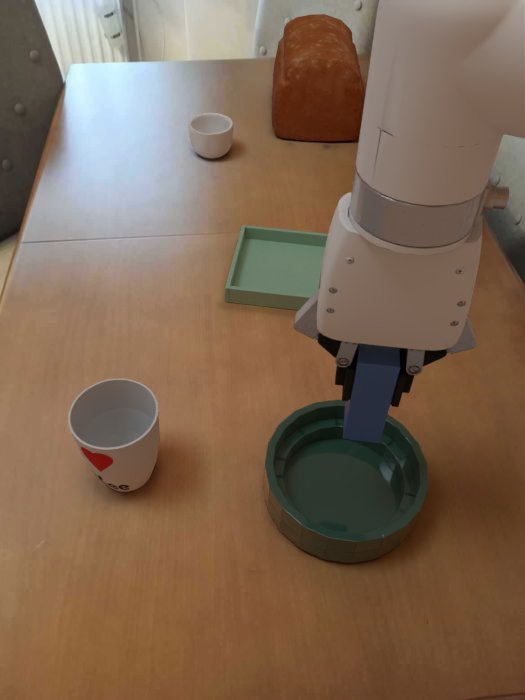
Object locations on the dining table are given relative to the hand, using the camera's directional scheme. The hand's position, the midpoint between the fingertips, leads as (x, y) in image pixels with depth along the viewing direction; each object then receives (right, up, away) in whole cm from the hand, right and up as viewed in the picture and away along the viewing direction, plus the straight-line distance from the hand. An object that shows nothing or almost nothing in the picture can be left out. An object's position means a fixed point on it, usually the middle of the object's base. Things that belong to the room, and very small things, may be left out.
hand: (370, 389), depth 49 cm
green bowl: (-1, -11, +12) cm, 17 cm away
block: (0, -4, +4) cm, 5 cm away
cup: (-23, -9, +13) cm, 28 cm away
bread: (+1, +50, +69) cm, 85 cm away
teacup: (-18, +39, +58) cm, 72 cm away
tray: (-3, +14, +35) cm, 38 cm away
